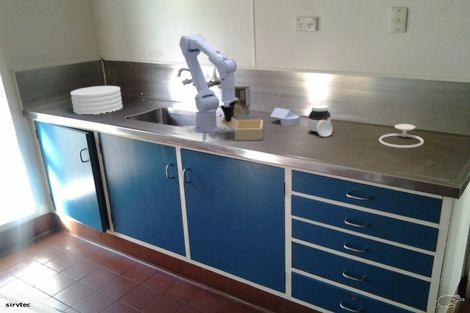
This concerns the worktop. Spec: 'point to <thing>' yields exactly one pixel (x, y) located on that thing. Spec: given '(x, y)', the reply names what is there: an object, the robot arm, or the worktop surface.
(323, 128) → the spread jar
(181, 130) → the worktop surface
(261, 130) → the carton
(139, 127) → the worktop surface
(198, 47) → the robot arm
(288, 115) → the wedge on round base
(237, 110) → the coffee box
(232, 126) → the lid flap
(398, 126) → the hand towel holder
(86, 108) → the plate stack
